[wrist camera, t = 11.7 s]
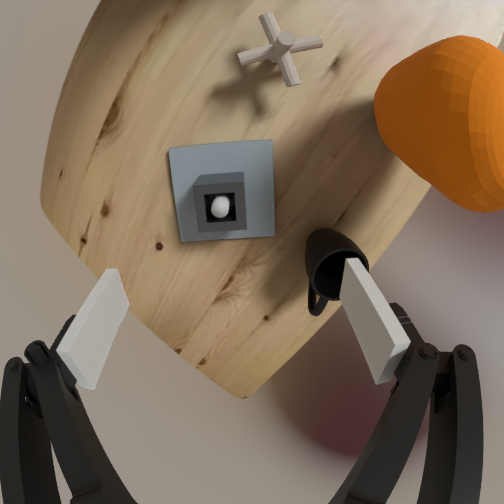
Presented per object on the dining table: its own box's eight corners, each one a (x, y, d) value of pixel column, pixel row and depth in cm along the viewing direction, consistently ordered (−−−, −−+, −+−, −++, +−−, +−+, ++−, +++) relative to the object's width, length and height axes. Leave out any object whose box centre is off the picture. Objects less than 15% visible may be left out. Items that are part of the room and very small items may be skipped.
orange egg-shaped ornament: (443, 97, 31) (566, 118, 9) (409, 183, 38) (523, 257, 16) (358, 39, 28) (478, -10, 6) (320, 136, 35) (431, 177, 13)
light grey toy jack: (252, 99, 32) (255, 92, 24) (227, 37, 28) (223, 12, 19) (321, 81, 31) (347, 71, 22) (297, 20, 27) (315, -6, 18)
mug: (279, 276, 45) (287, 313, 37) (311, 212, 40) (329, 239, 32) (321, 289, 47) (336, 325, 39) (355, 230, 42) (380, 259, 34)
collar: (199, 174, 36) (192, 185, 31) (243, 171, 36) (244, 181, 31) (204, 215, 39) (198, 232, 34) (246, 213, 39) (247, 229, 34)
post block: (170, 148, 35) (152, 156, 28) (271, 139, 35) (279, 145, 28) (182, 239, 42) (171, 265, 34) (274, 233, 42) (281, 259, 35)
